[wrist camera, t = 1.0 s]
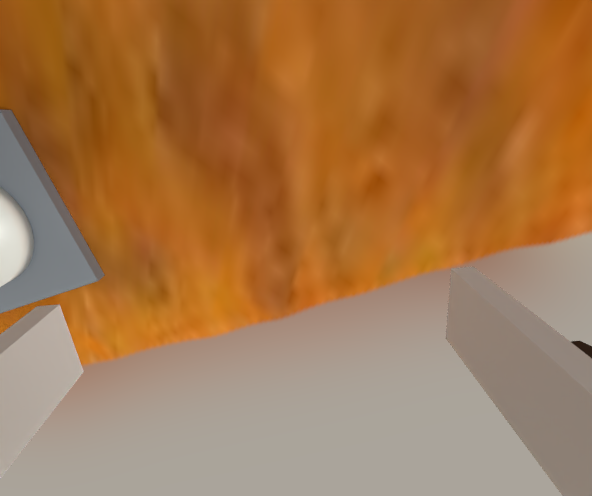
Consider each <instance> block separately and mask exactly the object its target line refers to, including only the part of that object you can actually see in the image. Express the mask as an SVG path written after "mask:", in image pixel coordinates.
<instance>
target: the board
mask: <svg viewBox="0 0 592 496" xmlns="http://www.w3.org/2000/svg"><path fill="white" fill-rule="evenodd" d="M0 187H1V188H2V189H3V190H5V191H6V192H7V193H8V194H9V195H10V196H11V197H12V198H13V199H14V200H15V201H16V202H17V203H18V204H19V206H20V207H21V208H22V210H23V211H24V213H25V215H26V217H27V218H28V220H29V223H30V226H31V229H32V233H33V239H34V250H33V255H32V258H31V261H30V263H29V265H28V266H27V268H26V269H25V270H24V271H23V273H21V274H20V275H19V276H18V277H16V278H15V279H13V280H11V281H10V282H8V283H6V284H5V285H3V286H1V287H0V313H3V312H6V311H9V310H12V309H15V308H18V307H21V306H24V305H27V304H30V303H33V302H36V301H39V300H42V299H45V298H48V297H51V296H54V295H57V294H60V293H63V292H66V291H69V290H72V289H75V288H78V287H81V286H84V285H87V284H90V283H93V282H96V281H99V280H100V279H101V278H102V277H103V276H104V273H103V271H102V270H101V268H100V266H99V264H98V263H97V261H96V259H95V257H94V255H93V254H92V252H91V250H90V248H89V247H88V245H87V243H86V241H85V240H84V238H83V236H82V234H81V232H80V231H79V229H78V227H77V225H76V224H75V222H74V220H73V218H72V217H71V215H70V213H69V211H68V210H67V208H66V206H65V204H64V202H63V201H62V199H61V197H60V195H59V194H58V192H57V190H56V188H55V187H54V185H53V183H52V181H51V179H50V178H49V176H48V174H47V172H46V171H45V169H44V167H43V165H42V164H41V162H40V160H39V158H38V156H37V155H36V153H35V151H34V149H33V148H32V146H31V144H30V142H29V141H28V139H27V137H26V135H25V134H24V132H23V130H22V128H21V126H20V125H19V123H18V121H17V119H16V118H15V116H14V114H13V112H12V111H11V110H0Z"/></svg>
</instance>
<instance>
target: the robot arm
mask: <svg viewBox="0 0 592 496" xmlns="http://www.w3.org/2000/svg"><path fill="white" fill-rule="evenodd" d="M449 290H450V291H449V303H448V316H447V329H446V339H447V341H448V342H449V343H450V345H451V346H452V347H453V349H454V350H455V351H456V353H457V354H458V355H459V357H460V358H461V359H462V361H463V362H464V363H465V365H466V366H467V367H468V369H469V370H470V372H471V373H472V374H473V376H474V377H475V378H476V379H477V381H478V382H479V383H480V385H481V386H482V388H483V389H484V390H485V392H486V393H487V394H488V396H489V397H490V398H491V400H492V401H493V403H494V404H495V405H496V407H497V408H498V409H499V411H500V412H501V413H502V414H503V416H504V417H505V419H506V420H507V421H508V423H509V424H510V425H511V427H512V428H513V430H514V431H515V432H516V434H517V435H518V436H519V438H520V439H521V440H522V442H523V443H524V444H525V446H526V447H527V448H528V450H529V451H530V452H531V454H532V455H533V456H534V458H535V459H536V460H537V462H538V463H539V465H540V466H541V467H542V469H543V470H544V471H545V473H546V474H547V475H548V477H549V478H550V479H551V481H552V482H553V483H554V485H555V486H556V487H557V489H558V490H559V492H560V493H561V494H562V495H563V496H592V346H590V345H588V344H586V343H583V342H581V341H573V342H570V341H569V340H567V339H566V338H565V337H564V336H562V335H561V334H560V333H558V332H557V331H556V330H554V329H553V328H552V327H551V326H549V325H548V324H547V323H545V322H544V321H543V320H542V319H540V318H539V317H538V316H537V315H535V314H534V313H533V312H531V311H530V310H529V309H527V308H526V307H525V306H524V305H522V304H521V303H520V302H518V301H517V300H516V299H515V298H513V297H512V296H511V295H510V294H508V293H507V292H506V291H504V290H503V289H502V288H501V287H499V286H498V285H497V284H495V283H494V282H493V281H492V280H490V279H489V278H488V277H486V276H485V275H484V274H483V273H481V272H480V271H479V270H477V269H476V268H475V267H464V268H453V269H451V276H450V289H449ZM83 372H84V371H83V369H82V366H81V363H80V360H79V357H78V355H77V352H76V349H75V346H74V343H73V341H72V338H71V335H70V332H69V329H68V327H67V324H66V321H65V318H64V315H63V313H62V310H61V307H60V305H49V306H38V307H35V308H34V309H33V310H32V311H30V312H29V313H28V314H26V315H25V316H24V317H22V318H21V319H20V320H19V321H17V322H16V323H15V324H13V325H12V326H11V327H9V328H8V329H7V330H6V331H4V332H3V333H2V334H0V478H1V477H2V476H3V475H4V473H5V472H6V471H7V469H8V468H9V466H11V464H12V463H13V462H14V461H15V459H16V458H17V457H18V455H19V454H20V453H21V452H22V450H23V449H24V448H25V446H26V445H27V444H28V443H29V441H30V440H31V439H32V437H33V436H34V435H35V434H36V432H37V431H38V430H39V428H40V427H41V426H42V424H43V423H44V422H45V421H46V419H47V418H48V417H49V416H50V414H51V413H52V412H53V410H54V409H55V408H56V407H57V405H58V404H59V403H60V402H61V400H62V399H63V398H64V396H65V395H66V394H67V393H68V391H69V390H70V389H71V387H72V386H73V385H74V383H75V382H76V381H77V380H78V378H79V377H80V376H81V375H82V373H83Z"/></svg>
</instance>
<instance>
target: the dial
mask: <svg viewBox="0 0 592 496" xmlns="http://www.w3.org/2000/svg"><path fill="white" fill-rule="evenodd" d="M33 250H34V239H33V233H32V229H31V226H30V223H29V220H28V218H27V217H26V215H25V213H24V211H23V210H22V208H21V207H20V206H19V204H18V203H17V202H16V201H15V200H14V199H13V198H12V197H11V196H10V195H9V194H8V193H7V192H6V191H5V190H3V189H2V188H1V187H0V287H1V286H3V285H5V284H6V283H8V282H10V281H11V280H13V279H15V278H16V277H18V276H19V275H20V274H21V273H23V271H24V270H25V269H26V268H27V266H28V265H29V263H30V261H31V258H32V255H33Z"/></svg>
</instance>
